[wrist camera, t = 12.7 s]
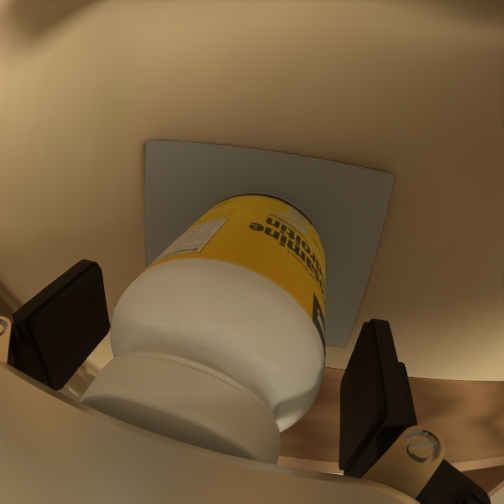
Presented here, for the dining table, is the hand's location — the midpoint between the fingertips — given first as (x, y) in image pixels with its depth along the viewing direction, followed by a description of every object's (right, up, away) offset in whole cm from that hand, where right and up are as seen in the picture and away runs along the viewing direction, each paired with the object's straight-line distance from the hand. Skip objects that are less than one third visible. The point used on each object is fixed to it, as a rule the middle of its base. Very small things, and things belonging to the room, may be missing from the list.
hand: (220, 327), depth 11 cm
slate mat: (+1, +3, +6) cm, 7 cm away
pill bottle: (+1, +3, +6) cm, 7 cm away
